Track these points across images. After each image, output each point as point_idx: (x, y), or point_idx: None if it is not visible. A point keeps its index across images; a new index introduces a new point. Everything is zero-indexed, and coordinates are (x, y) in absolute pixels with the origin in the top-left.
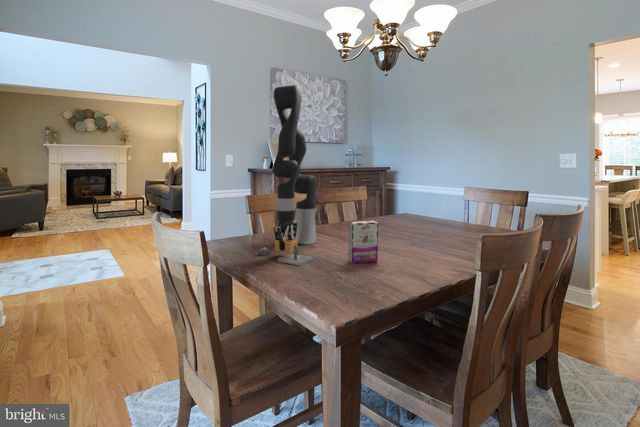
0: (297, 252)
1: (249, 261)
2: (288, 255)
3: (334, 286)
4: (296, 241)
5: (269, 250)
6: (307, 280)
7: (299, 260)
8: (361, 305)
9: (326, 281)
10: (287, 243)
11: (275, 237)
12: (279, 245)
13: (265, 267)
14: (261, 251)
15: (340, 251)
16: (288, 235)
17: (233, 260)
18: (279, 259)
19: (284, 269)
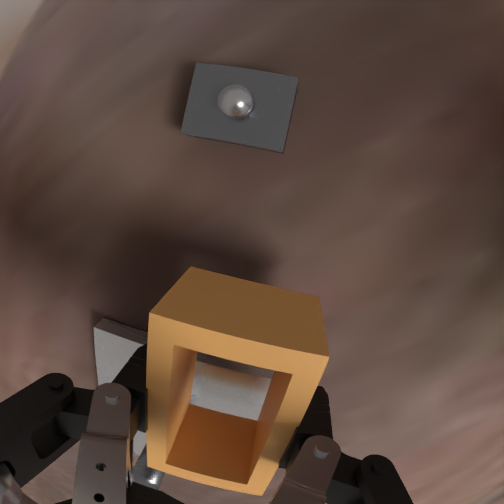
0: None
1: (38, 136)
2: (203, 372)
3: (47, 482)
4: (246, 491)
5: (281, 152)
6: None
7: (137, 439)
8: (25, 489)
9: (56, 476)
10: (148, 443)
11: (24, 392)
12: (127, 364)
13: (9, 289)
14: (188, 106)
15: (431, 492)
16: (300, 475)
17: (36, 39)
18: (95, 339)
19: (39, 378)
